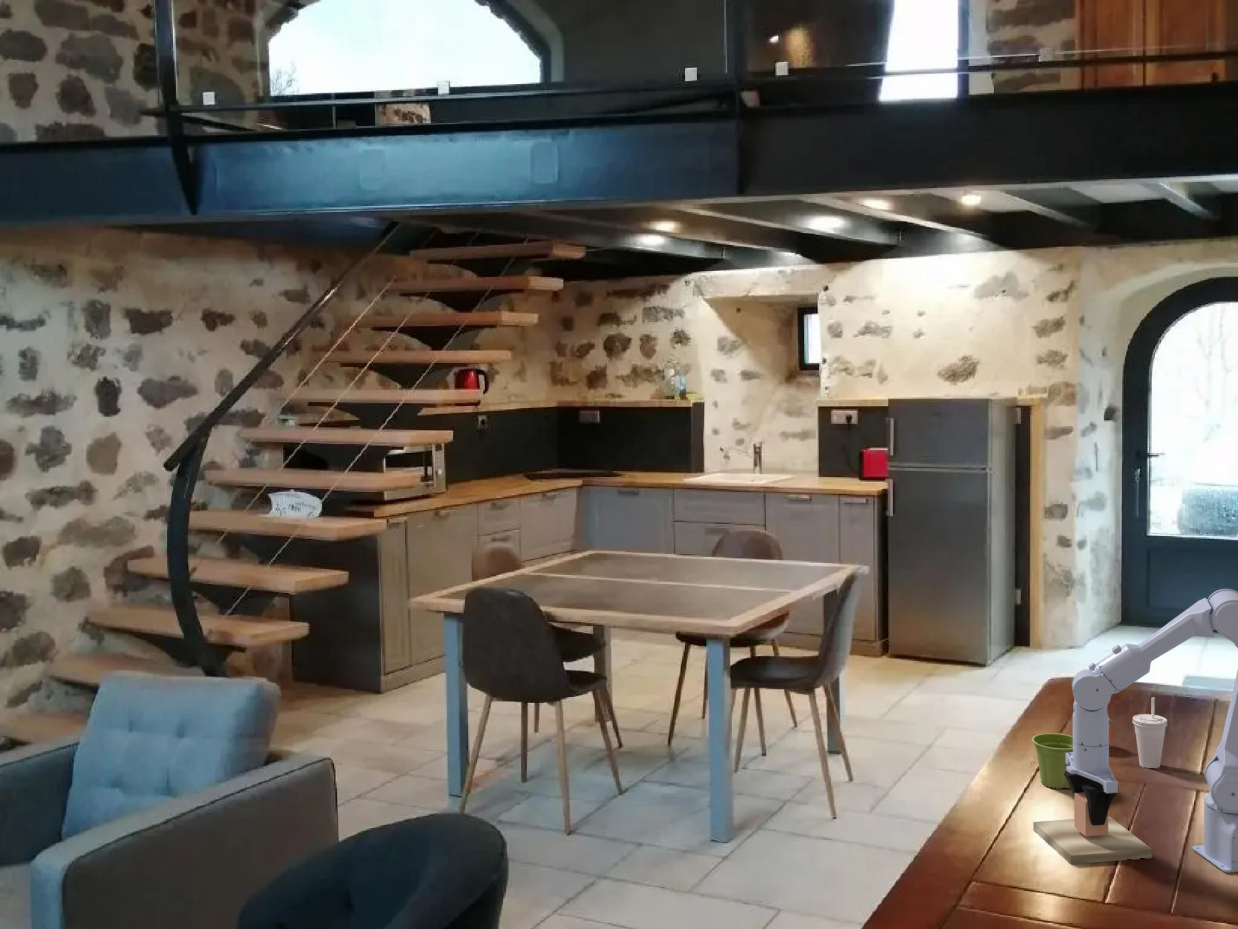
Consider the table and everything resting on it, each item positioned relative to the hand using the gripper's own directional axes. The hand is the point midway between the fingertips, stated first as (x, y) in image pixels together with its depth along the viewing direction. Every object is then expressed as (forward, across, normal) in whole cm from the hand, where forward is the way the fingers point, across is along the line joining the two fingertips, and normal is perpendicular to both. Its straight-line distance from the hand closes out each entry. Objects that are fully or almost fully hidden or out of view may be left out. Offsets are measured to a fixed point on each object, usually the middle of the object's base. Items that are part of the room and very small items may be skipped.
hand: (1090, 818), depth 200 cm
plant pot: (+5, -27, +7) cm, 28 cm away
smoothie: (+5, -33, +29) cm, 44 cm away
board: (+4, 0, 0) cm, 4 cm away
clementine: (+5, -45, +24) cm, 51 cm away
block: (+2, 0, 0) cm, 2 cm away
